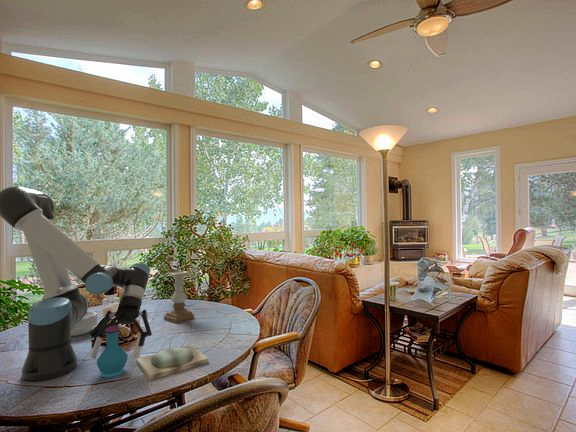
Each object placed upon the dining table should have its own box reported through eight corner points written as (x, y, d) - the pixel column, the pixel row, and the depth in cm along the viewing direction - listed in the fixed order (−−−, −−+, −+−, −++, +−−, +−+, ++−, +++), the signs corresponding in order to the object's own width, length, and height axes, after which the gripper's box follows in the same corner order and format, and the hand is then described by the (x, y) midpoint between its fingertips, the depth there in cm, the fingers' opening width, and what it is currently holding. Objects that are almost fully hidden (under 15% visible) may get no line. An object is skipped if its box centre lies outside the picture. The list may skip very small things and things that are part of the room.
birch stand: (150, 380, 102) (150, 372, 102) (136, 363, 115) (136, 356, 115) (208, 362, 115) (208, 355, 115) (190, 348, 127) (190, 342, 127)
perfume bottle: (98, 369, 110) (98, 325, 110) (128, 364, 114) (128, 321, 114) (94, 381, 102) (94, 334, 102) (127, 375, 106) (127, 329, 106)
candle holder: (175, 323, 158) (175, 275, 158) (163, 319, 165) (163, 272, 165) (194, 317, 167) (194, 272, 167) (182, 314, 174) (181, 270, 174)
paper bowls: (89, 324, 157) (89, 308, 157) (102, 331, 147) (102, 314, 147) (52, 333, 145) (52, 316, 145) (63, 341, 136) (63, 322, 136)
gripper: (167, 304, 126) (155, 359, 111) (100, 306, 124) (79, 362, 109) (163, 293, 121) (150, 350, 106) (93, 295, 119) (70, 353, 104)
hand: (114, 356), depth 107 cm, fingers open, 13 cm apart
